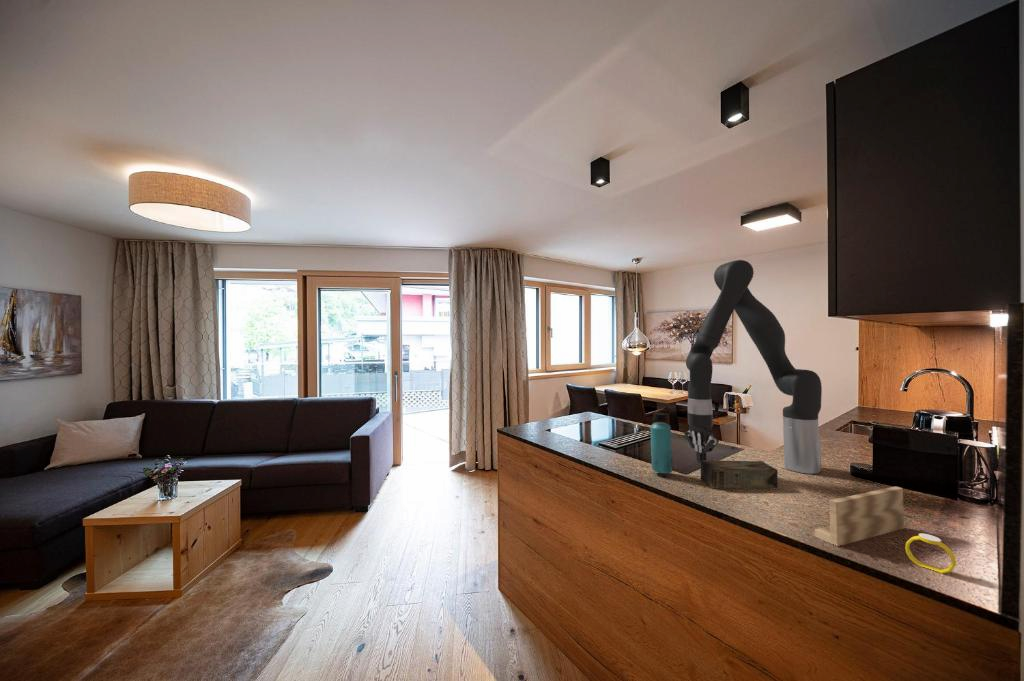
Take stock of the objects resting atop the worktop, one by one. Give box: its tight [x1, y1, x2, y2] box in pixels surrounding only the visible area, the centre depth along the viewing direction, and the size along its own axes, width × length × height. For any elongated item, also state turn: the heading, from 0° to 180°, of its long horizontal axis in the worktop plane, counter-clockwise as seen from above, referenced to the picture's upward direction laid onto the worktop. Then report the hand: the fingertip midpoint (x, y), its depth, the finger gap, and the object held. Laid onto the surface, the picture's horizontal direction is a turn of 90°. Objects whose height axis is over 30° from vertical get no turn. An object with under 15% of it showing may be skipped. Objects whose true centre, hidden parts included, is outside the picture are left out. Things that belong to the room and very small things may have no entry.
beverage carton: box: [700, 459, 779, 489], centre depth 108 cm, size 8×19×7 cm, turn 87°
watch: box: [904, 532, 957, 575], centre depth 66 cm, size 6×3×6 cm, turn 34°
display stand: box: [814, 486, 905, 547], centre depth 79 cm, size 22×4×9 cm, turn 107°
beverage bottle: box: [649, 412, 674, 474], centre depth 117 cm, size 6×7×20 cm
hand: (701, 462), depth 121 cm, fingers closed
